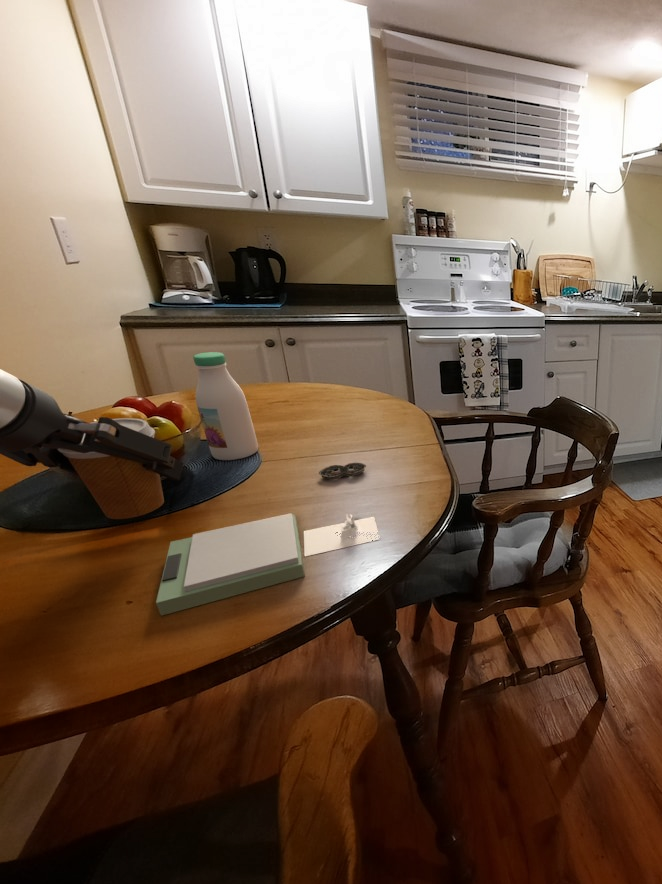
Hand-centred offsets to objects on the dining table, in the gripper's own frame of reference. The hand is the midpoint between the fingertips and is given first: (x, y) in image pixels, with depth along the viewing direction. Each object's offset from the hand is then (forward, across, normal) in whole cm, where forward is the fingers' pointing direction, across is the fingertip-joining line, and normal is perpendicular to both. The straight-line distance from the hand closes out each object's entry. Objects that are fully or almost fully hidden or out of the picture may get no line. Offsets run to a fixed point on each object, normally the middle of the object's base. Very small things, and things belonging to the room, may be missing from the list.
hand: (141, 472), depth 71 cm
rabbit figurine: (+3, +27, -10) cm, 29 cm away
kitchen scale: (-1, +15, -14) cm, 21 cm away
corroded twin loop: (+17, +22, +4) cm, 28 cm away
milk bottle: (+25, -2, +12) cm, 28 cm away
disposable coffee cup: (+1, 0, -5) cm, 5 cm away
